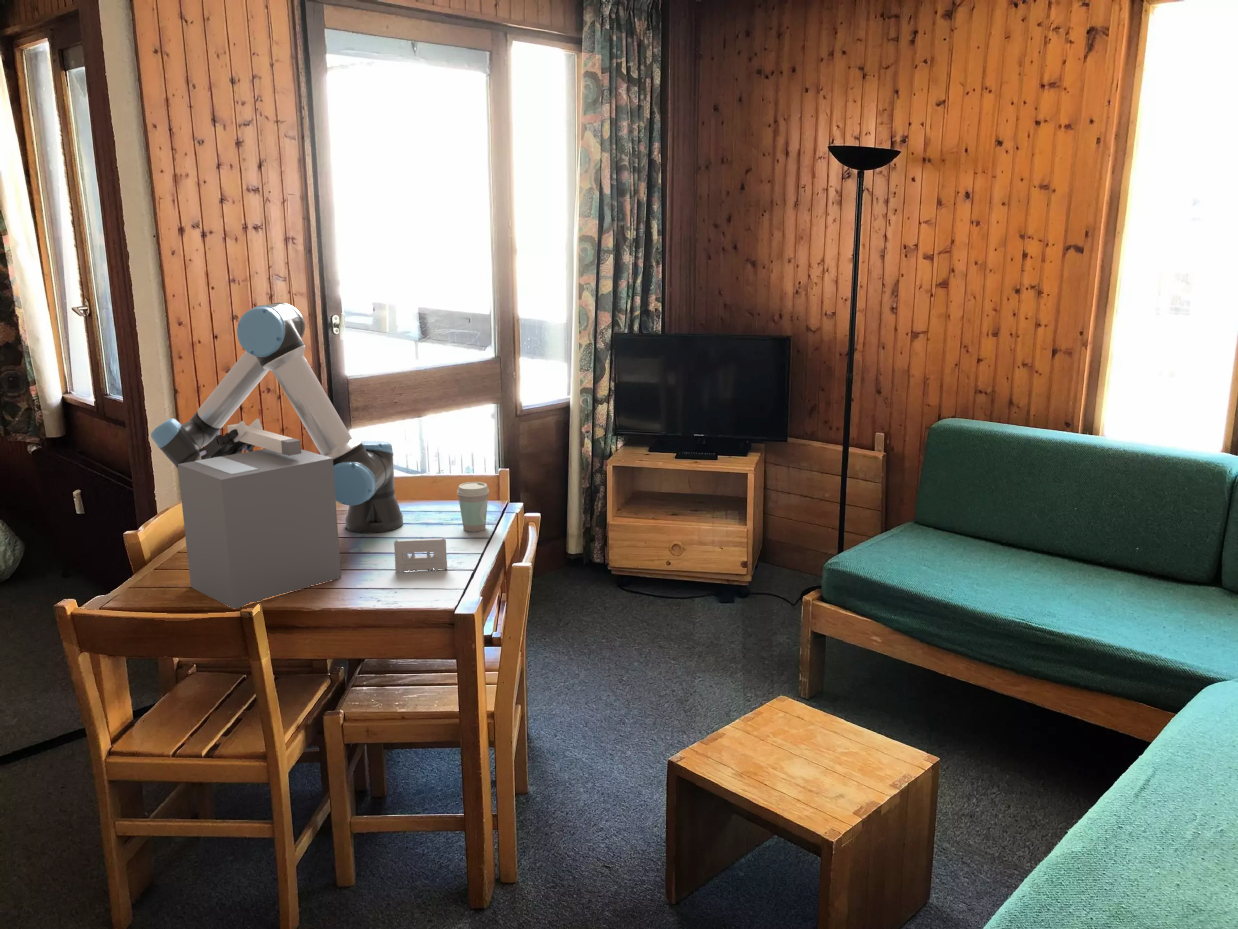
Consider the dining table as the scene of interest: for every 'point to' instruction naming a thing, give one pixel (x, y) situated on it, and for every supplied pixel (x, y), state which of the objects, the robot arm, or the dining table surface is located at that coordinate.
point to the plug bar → (270, 440)
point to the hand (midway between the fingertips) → (251, 425)
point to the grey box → (259, 524)
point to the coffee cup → (473, 505)
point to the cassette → (420, 562)
